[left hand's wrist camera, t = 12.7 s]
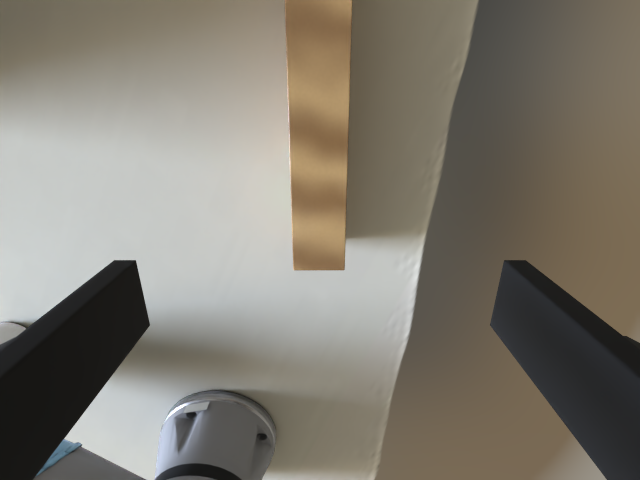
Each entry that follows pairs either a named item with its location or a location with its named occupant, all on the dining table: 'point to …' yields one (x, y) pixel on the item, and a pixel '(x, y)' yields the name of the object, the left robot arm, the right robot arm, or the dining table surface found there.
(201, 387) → the dining table surface
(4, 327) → the coffee cup
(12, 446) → the left robot arm
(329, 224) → the bar
